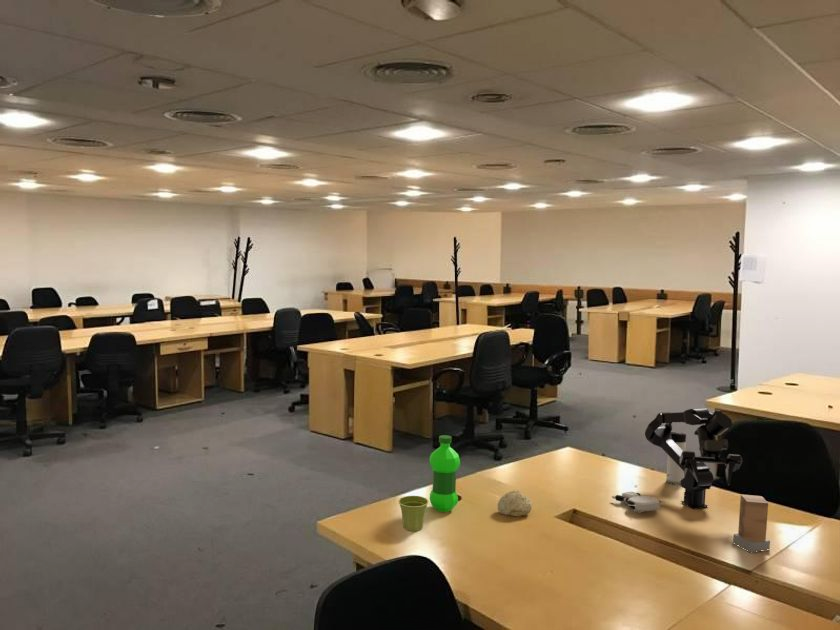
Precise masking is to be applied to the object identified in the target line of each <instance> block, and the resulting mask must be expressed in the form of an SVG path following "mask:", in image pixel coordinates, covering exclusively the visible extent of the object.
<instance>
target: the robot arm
mask: <svg viewBox="0 0 840 630" xmlns="http://www.w3.org/2000/svg"><path fill="white" fill-rule="evenodd" d="M673 423H685V424H687V425H690V426H699V427H697V428H696V430H695V431H694V432H693V433H694V434H693V435H696V436H697V437H698V446H699V447H698V450H699V454H700V455H696V452H695V451H691V450H685V451H683V450H682V449H681V448H680V447H679V446H678V445H677V444H676V443H675V442H674V441H673V440H672V439H671V432H673V431H672V430H673ZM663 424H665V425H663ZM732 425H733V422H732V419H731V418H730V417H729V416H728V415H727V414H725V413H723V412H722V410H721V409H720V410H715V411H714V412H713V413H712V412H710V411H709V409H708V408H705V407H702V408H701V407H699V408H689V409H686V410H684V411H681V412H671V411H670V412H669V411H667V412H666V411H665V412H658V413H657V415H656V417H655V418H654V419H652V421H651V422H649V424H648V425H647V428H646V429H645V432H644V435H645V436H644V437H645V440H647V441H648V442H649V443H650V444H652V445H653V446H656V447H659V448H661V449H662V450H663V451H664V453H665V454H667V456H668V455H669V456H670V457H671V458H672V459H673V460H674V461H675V463H676V464H677V465H678V466H679V467H680V468H681V469H682V470H683V471H684V478H683V479H682V480H681V481H680V482H681V485H680V487H681V488H683V489H684V493H683V500H680V503H681V502H682V504H683V503H684V504H683V505H686V506H687V505H688V506H687V507H689V506H690V507H689V508H691V509H693V508H697V509H702V508H701V507H705V508H708V507H709V505H707V504H706V490H710V489H711V487H712V484H713V482H714V473H713V472H712V471H711V468H710V467H708V466H707V465H706V463H708V464H709V463H710V464H720V465H725V478H726V484H727V486H730V484H731V479H732V475H733V472H734V473H735V472H736V471H737V470H739V469H740V468H741V466H742V464H743V462H744V461H743V457H742V456H741V455H740V454H733V453H732V454H731V453H729V454H728V455H727V457H720V456H722V452H723V450H726V451H727V450H728V449H729V442H728V439H726V438H721V439H720V440H717V436H721V435H722V434H724V433H725V432H727V430H728V429H730V428H731V427H732ZM707 506H708V507H707Z"/></svg>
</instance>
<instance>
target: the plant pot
mask: <svg viewBox="0 0 840 630" xmlns="http://www.w3.org/2000/svg"><path fill="white" fill-rule="evenodd" d="M429 501H430V500H429V499H428V498H427V497H424V496H419V495H406V496H403V497H400V498H399V500H398V504H399V507H400V510H401V518H402V526H403V528H404V529H405V530H406V531H410V532H416V531H417V530H419V531H421V530H422V529H423V527H424V520H425V516H426V515H425V514H426V509H427V506H428V504H429Z"/></svg>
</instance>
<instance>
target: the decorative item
mask: <svg viewBox="0 0 840 630" xmlns="http://www.w3.org/2000/svg"><path fill="white" fill-rule="evenodd" d="M532 508H533V502H532V500H531V499H530V498H528V497H527V496H525V495H524V494H523V493H522V492H521V491H520V490H519V489H515V490H511V491H508V492H506V493H504V494H503V495H502V496H501V497H500V498H499V500H498V502H497V511H498V513H500V514H502V515H506V516H509V515H510V516H512V517H522V516H521V515H524V516H526V515H529V514H530V513H531V511H532Z"/></svg>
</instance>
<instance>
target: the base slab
mask: <svg viewBox="0 0 840 630" xmlns="http://www.w3.org/2000/svg"><path fill="white" fill-rule="evenodd" d="M732 538H733V541H732V544H733V543H735V544H736V545H735V544H734V545H735V546H737V545H739V546H740V547H742V548H744V549H746V550H748V551H750V552H756V551H761V550H767V549H769V550H770V548H771V547H770V546H771V540H770V539H768V538H766V542H756V541H746V540H743V538H742V537H741V536H740V534H739V533H733V537H732ZM739 546H738V547H739ZM740 547H739V548H740ZM742 548H741V549H742ZM744 549H743V550H744ZM746 550H745V551H746ZM748 551H747V552H748ZM750 552H749V553H750ZM756 553H757V552H756Z"/></svg>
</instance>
